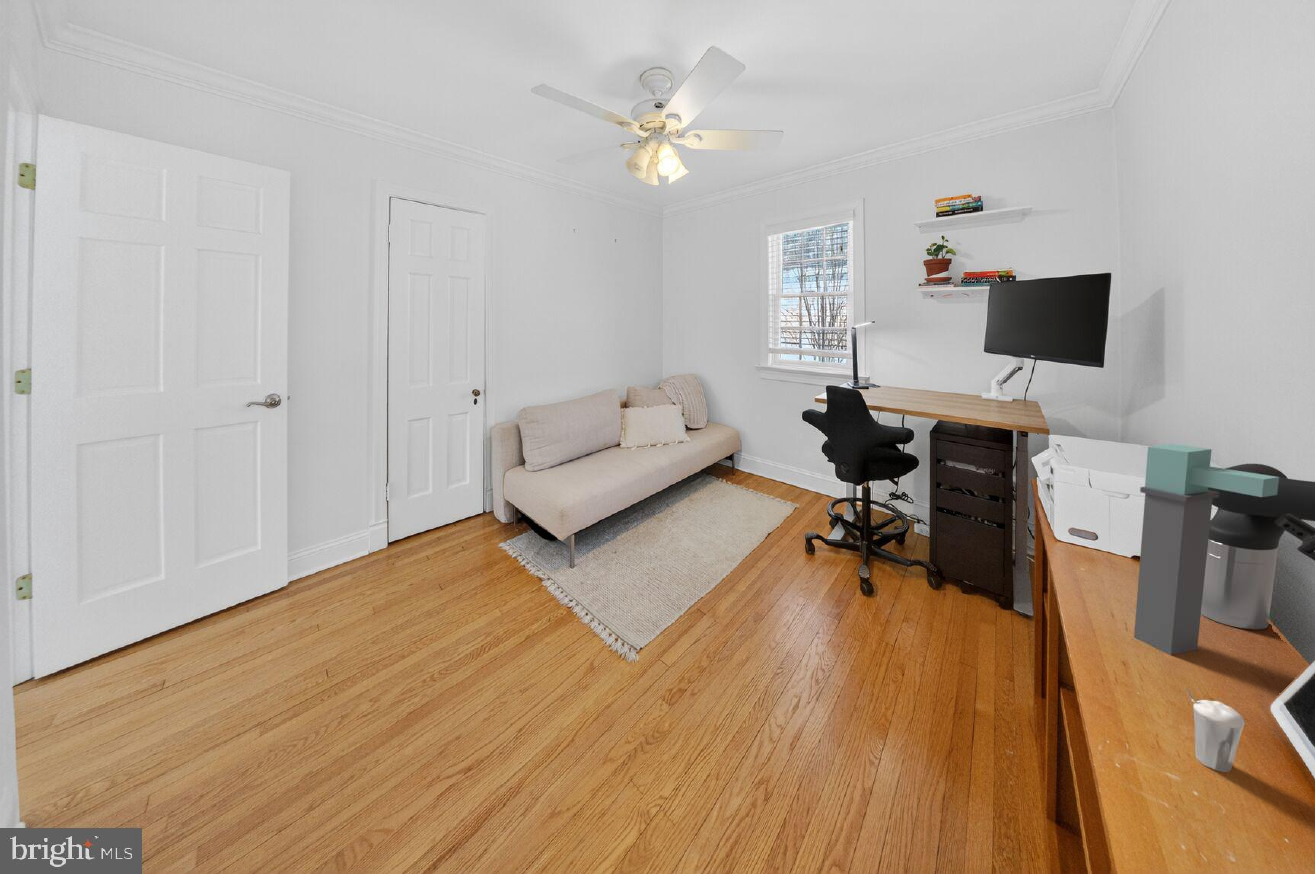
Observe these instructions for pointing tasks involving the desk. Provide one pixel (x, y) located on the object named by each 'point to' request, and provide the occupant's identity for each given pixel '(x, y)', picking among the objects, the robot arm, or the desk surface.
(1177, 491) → the teal handle
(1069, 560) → the desk surface
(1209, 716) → the milkshake
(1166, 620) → the stand
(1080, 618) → the desk surface
